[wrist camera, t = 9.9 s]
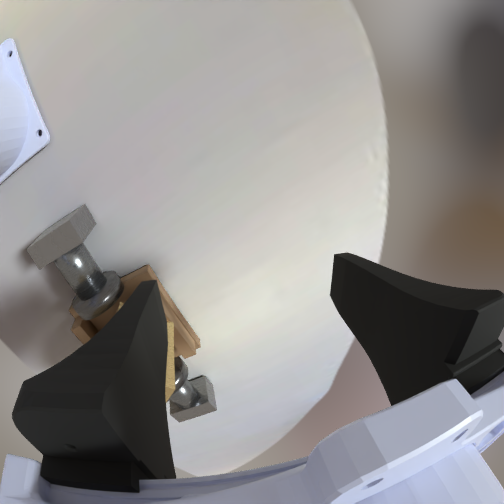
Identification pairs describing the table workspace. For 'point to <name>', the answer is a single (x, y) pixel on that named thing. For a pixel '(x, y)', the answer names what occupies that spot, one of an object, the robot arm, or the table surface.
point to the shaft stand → (117, 304)
